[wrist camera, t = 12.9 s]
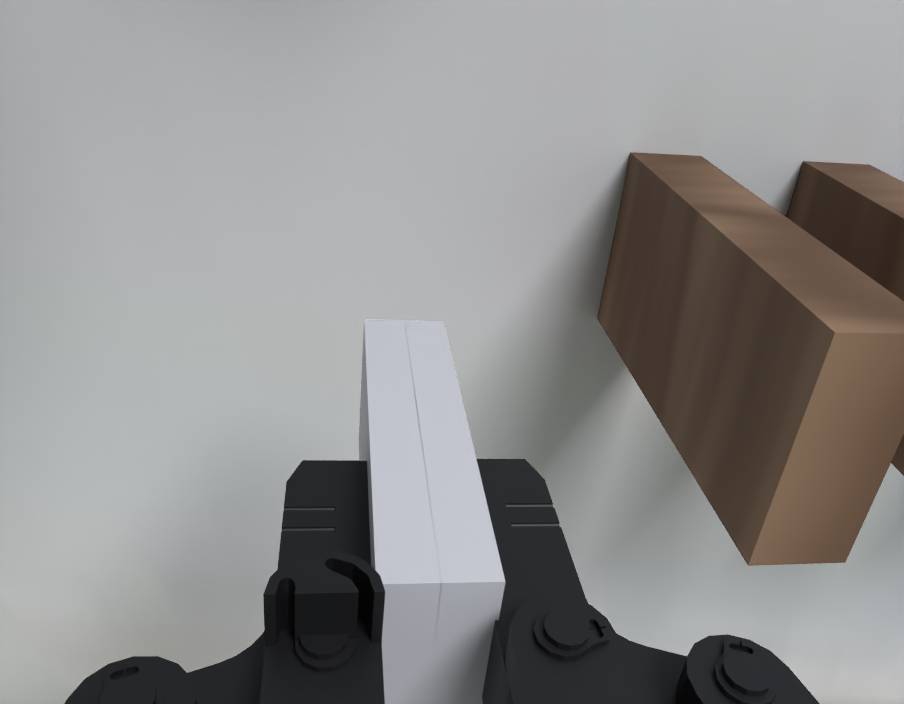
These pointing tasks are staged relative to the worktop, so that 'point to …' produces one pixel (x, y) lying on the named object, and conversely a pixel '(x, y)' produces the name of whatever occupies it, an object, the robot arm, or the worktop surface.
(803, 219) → the domino
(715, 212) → the domino
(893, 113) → the worktop surface
